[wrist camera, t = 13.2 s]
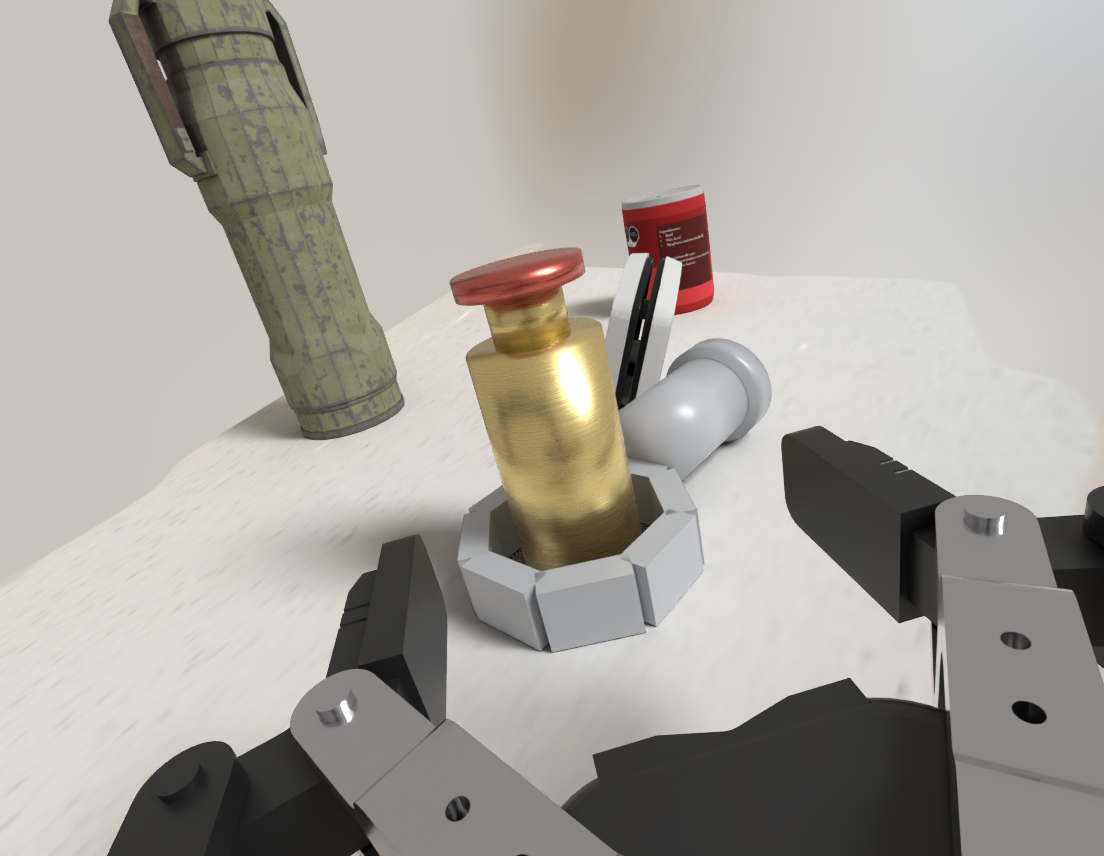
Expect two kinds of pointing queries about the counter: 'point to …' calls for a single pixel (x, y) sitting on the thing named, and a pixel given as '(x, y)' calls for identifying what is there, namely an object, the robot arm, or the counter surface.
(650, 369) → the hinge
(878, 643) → the counter surface
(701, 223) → the canned food
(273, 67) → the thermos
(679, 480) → the grey octagonal holder
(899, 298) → the counter surface
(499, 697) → the counter surface
